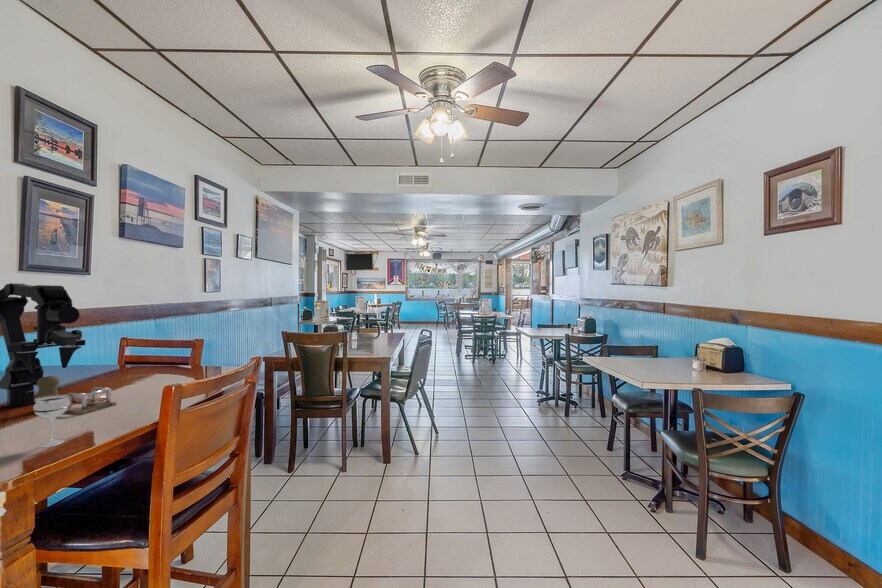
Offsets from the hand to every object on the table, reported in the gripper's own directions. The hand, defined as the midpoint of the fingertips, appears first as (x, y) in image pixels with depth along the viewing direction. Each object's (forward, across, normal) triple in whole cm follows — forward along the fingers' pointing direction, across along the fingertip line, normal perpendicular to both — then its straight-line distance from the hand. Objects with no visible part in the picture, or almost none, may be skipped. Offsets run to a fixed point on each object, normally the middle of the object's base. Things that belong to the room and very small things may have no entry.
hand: (49, 370), depth 128 cm
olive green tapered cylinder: (+13, 0, 0) cm, 13 cm away
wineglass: (+14, -23, -31) cm, 42 cm away
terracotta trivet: (+13, +14, 0) cm, 19 cm away
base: (+13, +4, -10) cm, 17 cm away
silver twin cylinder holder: (+13, +4, -10) cm, 17 cm away
